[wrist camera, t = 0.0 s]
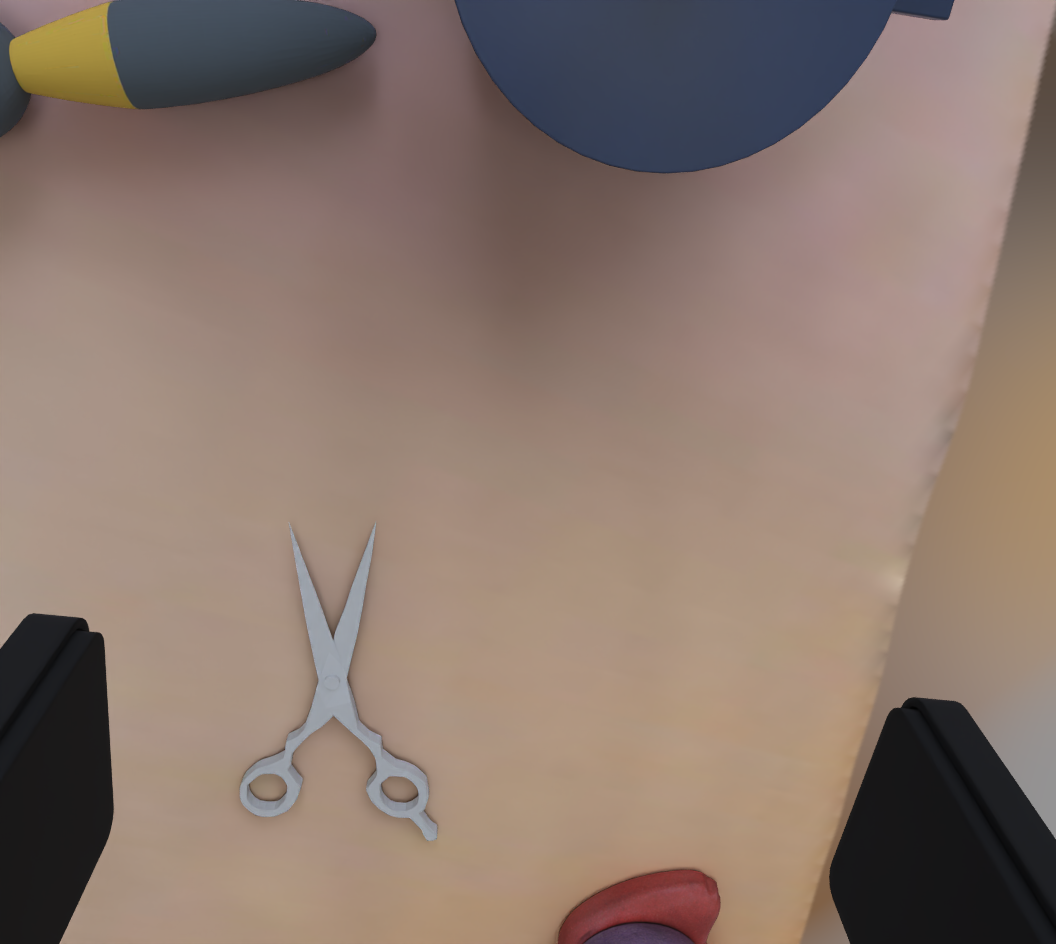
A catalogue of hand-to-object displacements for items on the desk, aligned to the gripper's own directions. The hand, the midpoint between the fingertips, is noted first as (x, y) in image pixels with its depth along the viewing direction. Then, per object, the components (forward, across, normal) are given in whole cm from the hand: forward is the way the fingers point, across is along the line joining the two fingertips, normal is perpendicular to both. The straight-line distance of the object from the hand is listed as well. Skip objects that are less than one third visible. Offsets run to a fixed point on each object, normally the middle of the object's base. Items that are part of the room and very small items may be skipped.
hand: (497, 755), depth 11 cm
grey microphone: (+31, +15, -5) cm, 35 cm away
